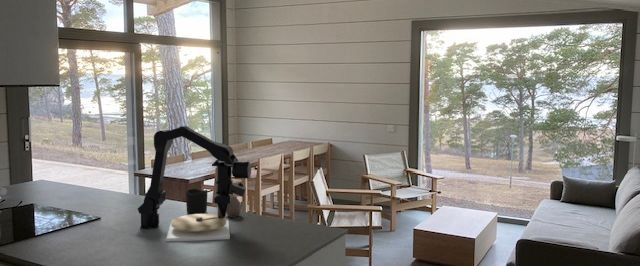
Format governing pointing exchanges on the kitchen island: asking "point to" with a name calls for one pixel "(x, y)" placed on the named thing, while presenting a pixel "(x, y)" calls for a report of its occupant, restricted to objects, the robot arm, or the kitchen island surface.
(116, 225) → the kitchen island surface
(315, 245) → the kitchen island surface
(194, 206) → the pen holder
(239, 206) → the vase
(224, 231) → the base plate
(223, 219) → the handwheel
